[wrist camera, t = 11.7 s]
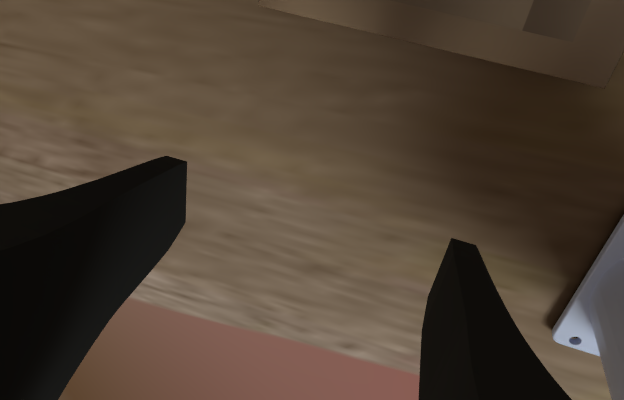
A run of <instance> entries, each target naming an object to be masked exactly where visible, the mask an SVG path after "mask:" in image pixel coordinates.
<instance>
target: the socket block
mask: <svg viewBox="0 0 624 400" xmlns="http://www.w3.org/2000/svg"><path fill="white" fill-rule="evenodd" d="M259 6H261V7H266V8H270V9H274V10H278V11H282V12H286V13H291V14H295V15H299V16H303V17H307V18H312V19H316V20H320V21H324V22H328V23H332V24H337V25H341V26H345V27H349V28H353V29H358V30H362V31H366V32H370V33H374V34H379V35H383V36H387V37H391V38H395V39H399V40H404V41H408V42H412V43H416V44H420V45H425V46H429V47H433V48H437V49H441V50H445V51H450V52H454V53H458V54H462V55H466V56H471V57H475V58H479V59H483V60H487V61H491V62H496V63H500V64H504V65H508V66H512V67H517V68H521V69H525V70H529V71H533V72H538V73H542V74H546V75H550V76H554V77H558V78H563V79H567V80H571V81H575V82H579V83H584V84H588V85H592V86H596V87H600V88H604V89H605V87H606V85H607V83H608V81H609V79H610V77H611V75H612V73H613V71H614V69H615V67H616V65H617V63H618V61H619V59H620V57H621V55H622V53H623V51H624V0H259Z"/></svg>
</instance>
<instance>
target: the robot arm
mask: <svg viewBox="0 0 624 400" xmlns="http://www.w3.org/2000/svg"><path fill="white" fill-rule="evenodd" d="M186 181H187V162H186V161H183V160H179V159H176V158H172V157H169V156H164V157H160V158H157V159H154V160H151V161H148V162H145V163H142V164H140V165H137V166H134V167H131V168H129V169H126V170H123V171H120V172H117V173H115V174H112V175H109V176H106V177H104V178H101V179H98V180H95V181H91V182H88V183H85V184H82V185H79V186H76V187H72V188H69V189H66V190H63V191H59V192H56V193H52V194H48V195H44V196H40V197H35V198H31V199H27V200H22V201H17V202H12V203H6V204H0V400H58V399H59V397H60V395H61V393H62V392H63V390H64V389H65V387H66V385H67V384H68V382H69V380H70V379H71V377H72V376H73V374H74V373H75V371H76V369H77V368H78V366H79V365H80V363H81V362H82V360H83V359H84V357H85V355H86V354H87V352H88V351H89V349H90V348H91V346H92V345H93V343H94V342H95V340H96V339H97V338H98V336H99V334H100V333H101V331H102V330H103V329H104V327H105V326H106V324H107V323H108V321H109V320H110V319H111V317H112V316H113V315H114V314H115V312H116V311H117V310H118V309H119V307H120V306H121V305H122V304H123V303H124V301H125V300H126V299H127V298H128V297H129V296H130V294H131V293H132V292H133V291H134V290H135V289H136V288H137V286H138V285H139V284H140V283H141V282H142V281H143V279H144V278H145V277H146V276H147V275H148V274H149V272H150V271H151V270H152V269H153V268H154V266H155V265H156V264H157V263H158V262H159V261H160V259H161V258H162V257H163V256H164V255H165V253H166V252H167V251H168V249H169V248H170V246H171V245H172V243H173V242H174V240H175V239H176V237H177V235H178V234H179V232H180V231H181V229H182V227H183V226H184V224H185V220H186ZM552 336H553V340H554V341H555V342H557V343H559V344H562V345H565V346H568V347H572V348H575V349H578V350H581V351H585V352H588V353H591V354H594V355H598V356H600V357H601V361H602V364H603V368H604V372H605V376H606V379H607V383H608V387H609V391H610V394H611V398H612V400H624V215H623V216H622V218H621V220H620V221H619V223H618V224H617V226H616V228H615V229H614V231H613V232H612V234H611V236H610V237H609V239H608V240H607V242H606V244H605V245H604V247H603V249H602V250H601V252H600V253H599V255H598V257H597V258H596V260H595V261H594V263H593V265H592V266H591V268H590V269H589V271H588V273H587V274H586V276H585V277H584V279H583V281H582V282H581V284H580V286H579V287H578V289H577V290H576V292H575V294H574V295H573V297H572V298H571V300H570V302H569V303H568V305H567V306H566V308H565V310H564V311H563V313H562V315H561V316H560V318H559V319H558V321H557V323H556V324H555V326H554V327H553V329H552ZM571 337H578V338H576V339H571ZM419 400H571V398H570V397H569V396H568V395H567V394H566V393H565V391H564V390H563V389H562V388H561V387H560V386H559V384H558V383H557V382H556V381H555V380H554V378H553V377H552V376H551V375H550V373H549V372H548V371H547V370H546V368H545V367H544V366H543V364H542V363H541V361H540V360H539V359H538V357H537V356H536V355H535V353H534V352H533V351H532V349H531V348H530V346H529V345H528V343H527V342H526V340H525V339H524V337H523V336H522V334H521V333H520V331H519V329H518V328H517V326H516V325H515V323H514V321H513V320H512V318H511V316H510V314H509V312H508V311H507V309H506V307H505V305H504V303H503V301H502V299H501V297H500V295H499V293H498V292H497V290H496V287H495V285H494V283H493V281H492V279H491V277H490V275H489V273H488V271H487V268H486V266H485V264H484V262H483V259H482V257H481V255H480V252H479V250H478V248H477V246H476V245H474V244H470V243H467V242H463V241H460V240H456V239H453V238H451V241H450V243H449V246H448V248H447V251H446V253H445V256H444V258H443V261H442V263H441V266H440V268H439V271H438V273H437V276H436V278H435V281H434V283H433V286H432V288H431V291H430V293H429V296H428V300H427V305H426V310H425V316H424V322H423V328H422V339H421V359H420V382H419Z"/></svg>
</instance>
